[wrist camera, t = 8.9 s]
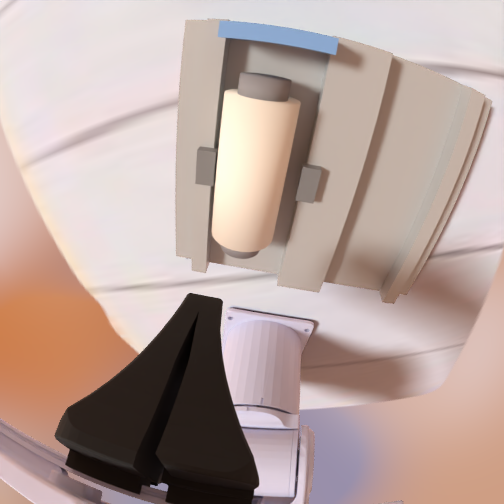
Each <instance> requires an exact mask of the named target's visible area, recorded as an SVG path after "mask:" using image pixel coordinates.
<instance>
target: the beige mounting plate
mask: <svg viewBox="0 0 504 504" xmlns="http://www.w3.org/2000/svg"><path fill="white" fill-rule="evenodd" d="M242 72H251V73H262V74H269V75H274V76H279V77H284V78H287V79H290V80H292V82H291V87H290V93H289V97H292V98H295V99H297V100H299V101H300V102H301V104H300V109H299V114H298V119H297V124H296V129H295V134H294V139H293V144H292V149H291V154H290V159H289V164H288V169H287V173H286V178H285V183H284V188H283V193H282V197H281V202H280V207H279V211H278V216H277V221H276V225H275V230H274V235H273V239H272V242H271V243H270V245H269V246H267V247H266V248H264V249H262V250H260V251H259V253H258V254H257V255H256V256H254V257H252V258H248V259H238V258H234V257H231V256H229V255H227V254H226V253H225V252H224V251H223V250H222V249H221V245H220V244H219V243H218V242H217V241H216V240H215V239H214V238H213V236H212V218H213V205H214V192H215V181H216V169H217V159H218V148H219V138H220V129H221V119H222V110H223V101H224V93H225V91H226V90H230V89H238V85H239V78H240V73H242ZM491 104H492V101H491V100H490V99H488V98H486V97H485V95H484V94H482V93H480V92H478V91H476V90H474V89H473V88H470V87H467V86H464V85H462V84H460V83H458V82H456V81H454V80H452V79H450V78H447V77H445V76H443V75H441V74H439V73H436V72H434V71H432V70H430V69H427V68H425V67H422V66H420V65H418V64H415V63H413V62H410V61H407V60H405V59H402V58H399V57H397V56H394V55H393V53H390V52H387V51H384V50H381V49H378V48H375V47H372V46H369V45H365V44H362V43H358V42H355V41H351V40H348V39H344V38H340V37H336V36H332V37H331V36H327V35H322V34H318V33H313V32H308V31H303V30H298V29H292V28H286V27H279V26H273V25H265V24H257V23H247V22H236V21H230V20H224V19H208V20H186V23H185V32H184V41H183V51H182V61H181V73H180V86H179V101H178V119H177V142H176V196H175V204H176V256H179V257H185V258H190V259H192V271H198V272H203V273H206V271H207V268H208V265H209V262H212V263H218V264H223V265H229V266H235V267H240V268H246V269H252V270H257V271H263V272H269V273H275V274H278V281H277V286H282V287H288V288H294V289H300V290H306V291H313V292H319V291H320V289H321V286H322V284H323V282H328V283H334V284H341V285H347V286H353V287H359V288H366V289H372V290H378V291H380V295H381V299H382V302H385V303H393V304H394V302H395V301H396V299H397V297H398V296H399V294H404V295H407V293H408V291H409V290H410V288H411V286H412V285H413V283H414V281H415V280H416V278H417V276H418V274H419V273H420V271H421V269H422V267H423V266H424V264H425V262H426V260H427V258H428V257H429V255H430V253H431V251H432V249H433V247H434V245H435V243H436V241H437V239H438V238H439V236H440V234H441V232H442V230H443V228H444V226H445V224H446V221H447V219H448V217H449V215H450V213H451V211H452V209H453V207H454V204H455V202H456V200H457V198H458V195H459V193H460V191H461V188H462V186H463V184H464V181H465V179H466V177H467V174H468V172H469V169H470V166H471V164H472V161H473V159H474V156H475V153H476V151H477V148H478V145H479V142H480V139H481V136H482V133H483V130H484V127H485V124H486V121H487V118H488V114H489V111H490V108H491Z"/></svg>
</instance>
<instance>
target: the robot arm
mask: <svg viewBox="0 0 504 504" xmlns="http://www.w3.org/2000/svg"><path fill="white" fill-rule="evenodd" d="M222 305H223V301H222V300H221V299H219V298H214V297H208V296H203V295H198V294H193V293H189V294H187V296H186V298H185V299H184V301H183V302H182V304H181V305H180V307H179V308H178V310H177V311H176V312H175V314H174V315H173V316H172V318H171V319H170V320H169V321H168V323H167V324H166V325H165V326H164V328H163V329H162V330H161V331H160V333H159V334H158V335H157V336H156V337H155V338H154V339H153V340H152V341H151V343H150V344H149V345H148V346H147V347H146V348H145V349H144V350H143V351H142V352H141V353H140V354H139V355H138V356H137V357H136V358H135V359H134V360H133V361H132V362H131V363H130V364H129V365H128V366H126V367H125V368H124V369H123V370H122V371H120V373H118V374H117V375H116V376H114V377H113V378H112V379H111V380H110V381H108V382H107V383H105V384H104V385H102V386H101V387H100V388H98V389H97V390H95V391H94V392H93V393H91V394H90V395H88V396H87V397H85V398H83V399H81V400H80V401H78V402H76V403H75V404H73V405H71V406H70V407H68V408H67V410H66V411H65V413H64V415H63V416H62V418H61V420H60V422H59V425H58V428H57V430H56V433H55V438H56V439H57V440H58V441H59V442H60V443H62V444H63V445H64V446H66V447H67V448H69V449H70V451H69V454H68V456H66V455H64V454H62V453H60V452H58V451H56V450H54V449H52V448H50V447H48V446H46V445H44V444H43V443H41V442H39V441H37V440H35V439H33V438H32V437H30V436H28V435H26V434H25V433H23V432H21V431H20V430H18V429H16V428H15V427H13V426H12V425H10V424H8V423H7V422H5V421H4V420H2V419H1V418H0V478H1V479H2V480H3V481H4V482H6V483H7V484H8V485H9V486H11V487H12V488H13V489H15V490H16V491H17V492H19V493H20V494H21V495H23V496H24V497H26V498H27V499H28V500H30V501H31V502H33V503H34V504H109V503H107V502H104V501H101V496H102V491H100V490H97V489H95V488H93V487H90V486H88V485H86V484H83V483H81V482H79V481H76V480H74V479H72V478H70V477H69V476H68V473H67V471H69V472H71V473H73V474H75V475H78V476H80V477H82V478H84V479H87V480H89V481H92V482H94V483H96V484H99V485H101V486H104V487H106V488H109V489H112V490H115V491H117V492H120V493H123V494H126V495H129V496H132V497H135V498H138V499H141V500H144V501H148V502H151V503H155V504H308V501H309V493H310V492H311V489H312V478H313V466H314V432H313V431H312V430H311V429H309V426H307V425H302V426H301V437H300V443H299V403H300V374H301V354H302V352H303V350H304V348H305V346H306V343H307V341H308V339H309V337H310V335H311V333H312V331H313V328H314V323H313V322H312V321H308V320H301V319H294V318H288V317H281V316H275V315H269V314H263V313H257V312H251V311H245V310H239V309H234V308H229V309H227V310H226V315H225V324H224V334H223V343H222V346H221V334H220V327H221V316H222ZM230 316H231V317H230ZM298 448H299V450H298ZM66 470H67V471H66ZM296 479H297V482H296ZM159 483H165V484H167V485H168V491H167V492H166V491H162V490H158V489H155V488H151V487H150V484H151V485H155V486H158V484H159ZM381 504H403V501H395V502H388V503H381Z"/></svg>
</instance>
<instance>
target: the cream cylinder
mask: <svg viewBox="0 0 504 504" xmlns="http://www.w3.org/2000/svg"><path fill="white" fill-rule="evenodd" d="M291 82H292V80H290V79H287V78H284V77H279V76H274V75H269V74H262V73H251V72H242V73H240V78H239V85H238V89H230V90H226V91H225V93H224V101H223V110H222V119H221V129H220V138H219V148H218V159H217V169H216V181H215V192H214V205H213V218H212V236H213V238H214V239H215V240H216V241H217V242H218V243H219V244H220V245H221V249H222V250H223V251H224V252H225V253H226V254H227V255H229V256H231V257H234V258H238V259H248V258H252V257H254V256H256V255H257V254H258V253H259V251H260V250H262V249H264V248H266V247H267V246H269V245H270V243H271V242H272V239H273V235H274V230H275V225H276V221H277V216H278V211H279V207H280V202H281V197H282V193H283V188H284V183H285V178H286V173H287V169H288V164H289V159H290V154H291V149H292V144H293V139H294V134H295V129H296V124H297V119H298V114H299V109H300V104H301V102H300V101H299V100H297V99H295V98H292V97H289V93H290V87H291Z"/></svg>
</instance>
